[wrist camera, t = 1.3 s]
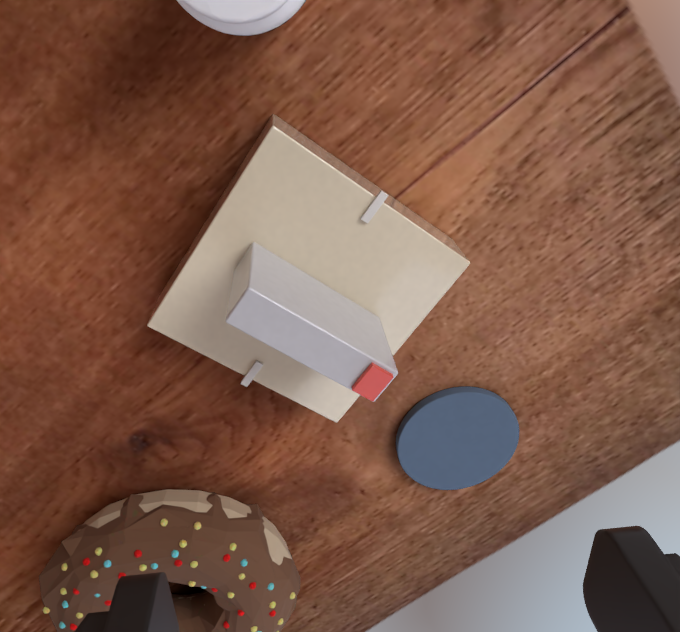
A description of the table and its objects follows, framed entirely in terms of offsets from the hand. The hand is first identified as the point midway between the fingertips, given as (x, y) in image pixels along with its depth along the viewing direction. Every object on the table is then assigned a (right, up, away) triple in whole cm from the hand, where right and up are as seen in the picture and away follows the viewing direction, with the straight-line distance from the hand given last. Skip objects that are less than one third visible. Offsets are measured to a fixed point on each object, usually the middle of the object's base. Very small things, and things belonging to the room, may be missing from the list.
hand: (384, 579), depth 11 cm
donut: (-11, -10, +25) cm, 28 cm away
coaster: (+6, -2, +22) cm, 23 cm away
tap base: (-2, +7, +16) cm, 18 cm away
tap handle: (-2, +6, +14) cm, 15 cm away
